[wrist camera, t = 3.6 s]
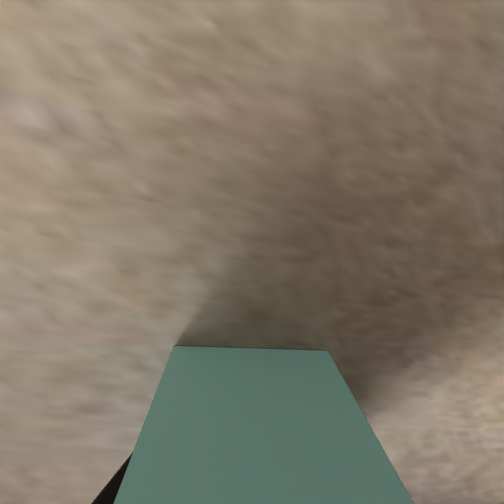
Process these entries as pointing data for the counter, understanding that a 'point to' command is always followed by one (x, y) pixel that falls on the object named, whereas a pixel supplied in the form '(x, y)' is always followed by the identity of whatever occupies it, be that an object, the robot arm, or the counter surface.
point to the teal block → (257, 434)
